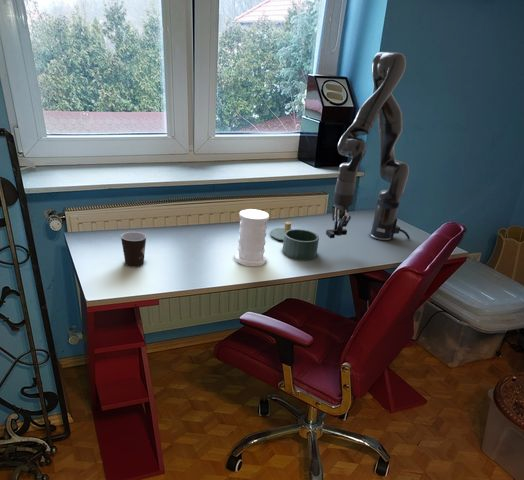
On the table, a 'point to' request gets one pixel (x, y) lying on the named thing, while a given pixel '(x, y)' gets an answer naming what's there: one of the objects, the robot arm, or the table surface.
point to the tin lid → (280, 231)
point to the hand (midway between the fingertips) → (337, 234)
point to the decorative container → (252, 237)
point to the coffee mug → (133, 248)
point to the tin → (300, 244)
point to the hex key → (333, 232)
